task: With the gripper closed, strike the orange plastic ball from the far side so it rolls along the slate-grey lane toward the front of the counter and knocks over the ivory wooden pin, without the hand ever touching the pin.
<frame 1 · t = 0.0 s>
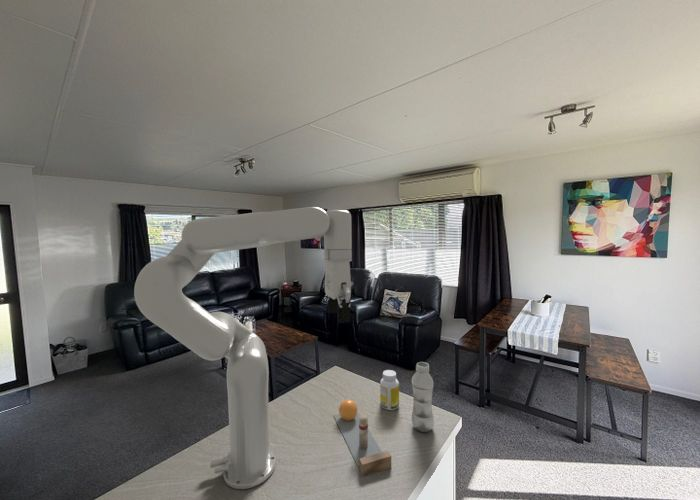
hand: (338, 317, 79), 37 cm above the kitchen island, tool pointing down, fingers open, 9 cm apart
lane: (357, 435, 85), on the kitchen island
ball: (348, 409, 92), resting on lane
pill bottle: (389, 406, 100), on the kitchen island
plastic bottle: (422, 428, 88), on the kitchen island
back wall: (375, 468, 73), on the kitchen island
pin: (363, 446, 80), resting on lane
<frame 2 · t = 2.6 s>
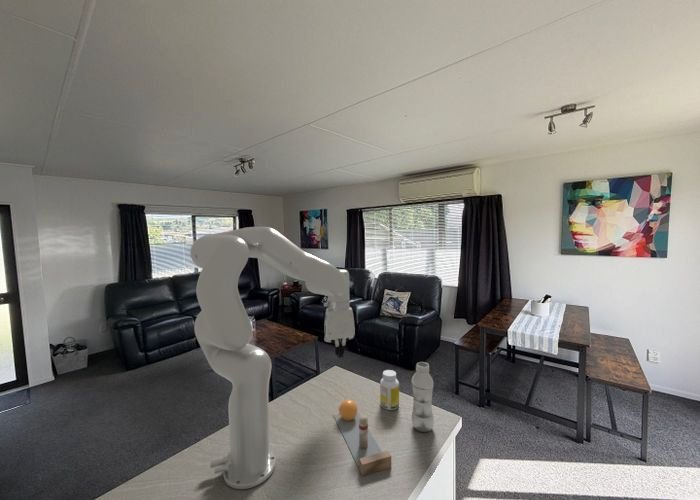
hand: (339, 355, 101), 17 cm above the kitchen island, tool pointing down, fingers closed
nothing on the kitchen island moved.
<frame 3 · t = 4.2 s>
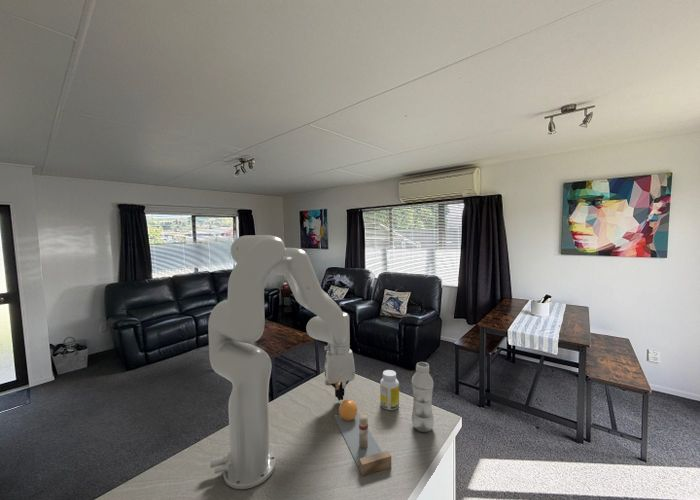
hand: (339, 398, 101), 2 cm above the kitchen island, tool pointing down, fingers closed
nothing on the kitchen island moved.
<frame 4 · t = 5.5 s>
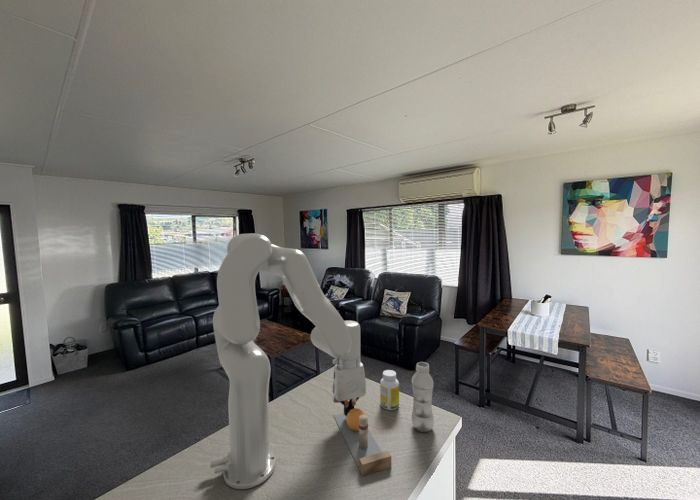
hand: (349, 416, 92), 1 cm above the kitchen island, tool pointing down, fingers closed
ball: (356, 419, 87), resting on lane
everything else where it was.
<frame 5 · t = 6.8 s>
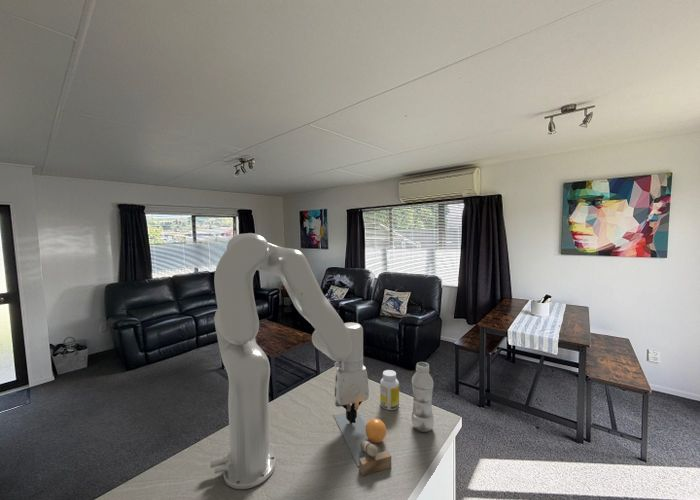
hand: (351, 420, 89), 1 cm above the kitchen island, tool pointing down, fingers closed
ball: (375, 430, 82), resting on pin
pin: (364, 445, 79), point 1 cm above the kitchen island, tilted 61°, touching back wall
everything else where it was.
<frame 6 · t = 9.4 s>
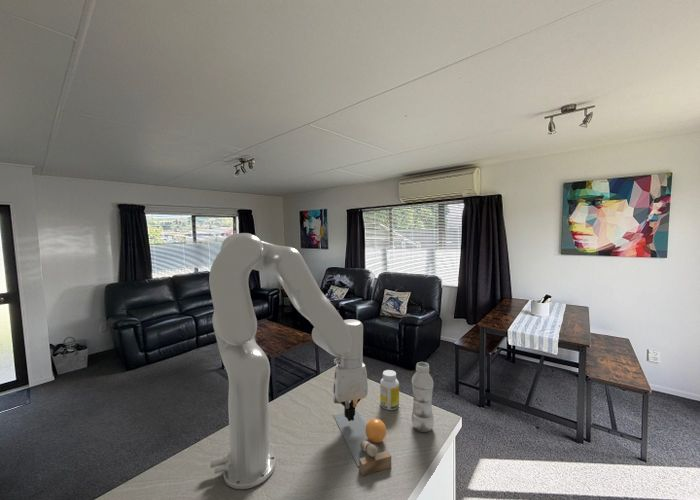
hand: (349, 418, 89), 2 cm above the kitchen island, tool pointing down, fingers closed
nothing on the kitchen island moved.
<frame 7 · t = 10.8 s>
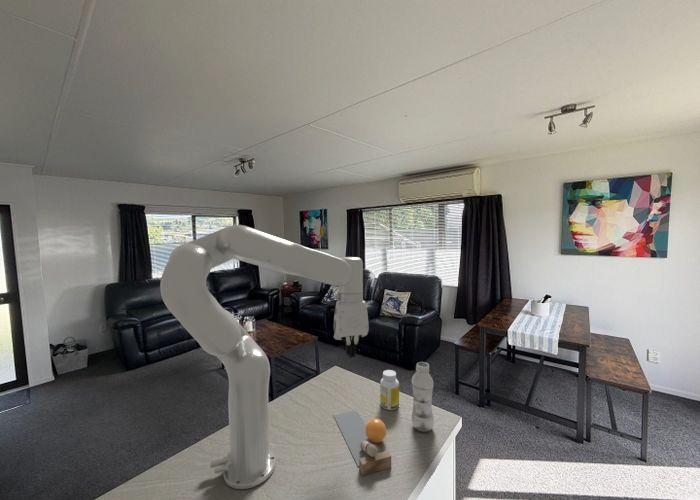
hand: (351, 355, 88), 22 cm above the kitchen island, tool pointing down, fingers closed
nothing on the kitchen island moved.
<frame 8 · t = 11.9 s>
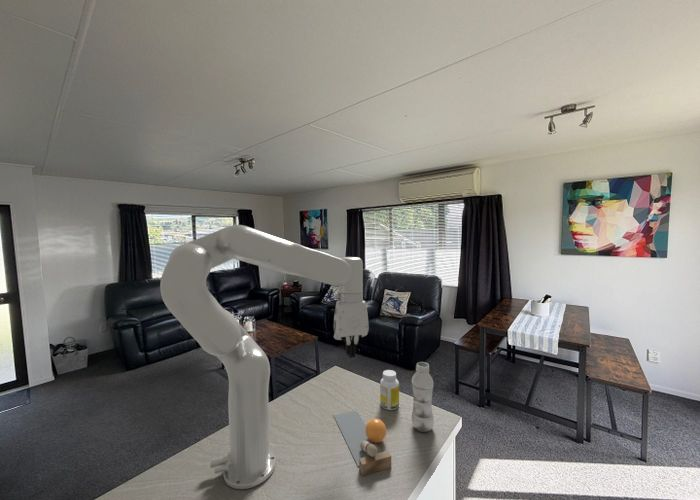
hand: (351, 355, 88), 22 cm above the kitchen island, tool pointing down, fingers closed
nothing on the kitchen island moved.
at the end: pin tilted 61°; pin never touched the robot; ball moved 12.7 cm from its start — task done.
